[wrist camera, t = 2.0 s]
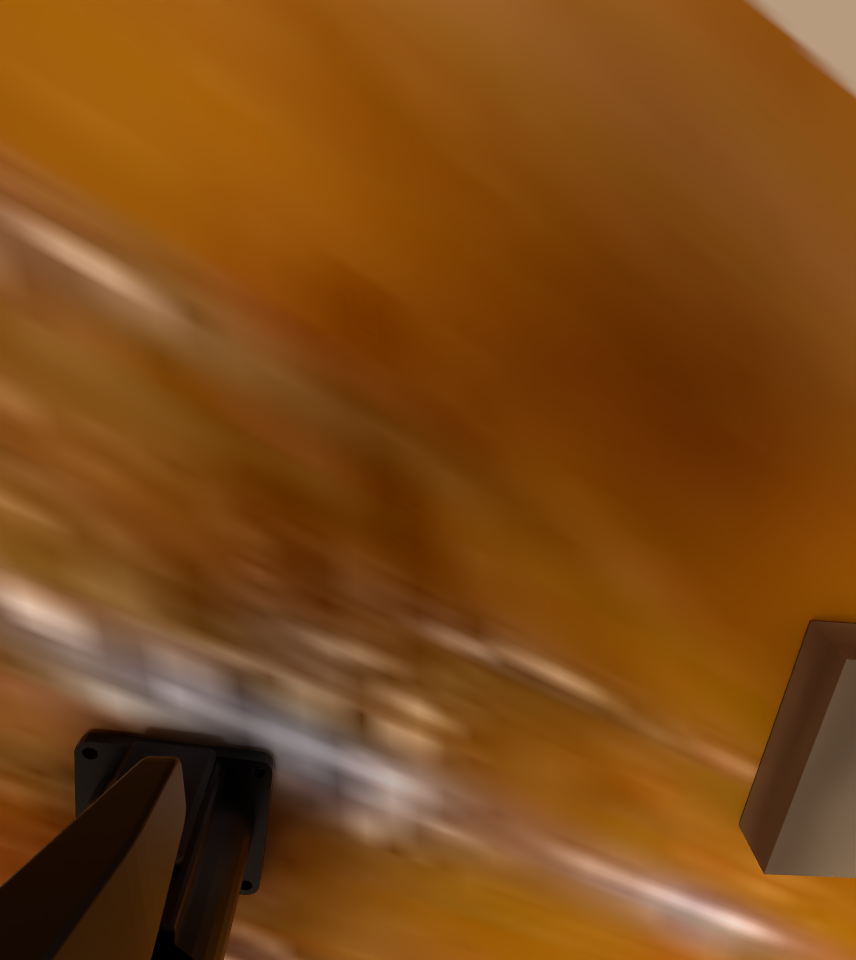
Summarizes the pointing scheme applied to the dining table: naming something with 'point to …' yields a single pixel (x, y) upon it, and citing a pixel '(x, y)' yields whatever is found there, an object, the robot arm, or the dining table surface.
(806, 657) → the grey base plate stand
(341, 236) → the dining table surface
